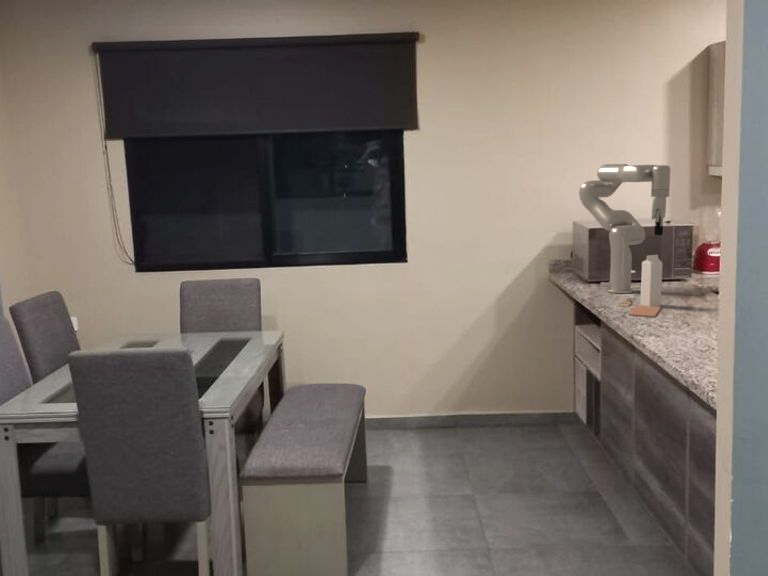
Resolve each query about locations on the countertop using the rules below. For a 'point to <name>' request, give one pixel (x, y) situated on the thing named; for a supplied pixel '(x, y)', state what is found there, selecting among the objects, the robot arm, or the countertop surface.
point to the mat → (645, 311)
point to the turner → (626, 303)
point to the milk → (651, 281)
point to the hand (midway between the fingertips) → (658, 234)
